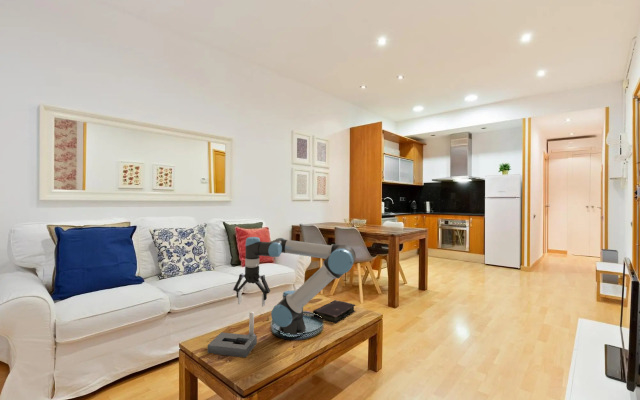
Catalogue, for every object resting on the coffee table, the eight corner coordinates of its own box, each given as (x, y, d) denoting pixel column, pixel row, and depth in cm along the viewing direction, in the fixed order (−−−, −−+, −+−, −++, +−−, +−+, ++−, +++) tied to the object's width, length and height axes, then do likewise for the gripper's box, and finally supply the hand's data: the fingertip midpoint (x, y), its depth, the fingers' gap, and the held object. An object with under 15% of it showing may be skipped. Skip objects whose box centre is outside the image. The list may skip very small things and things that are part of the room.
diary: (312, 317, 198) (312, 309, 198) (333, 306, 218) (334, 299, 218) (336, 324, 187) (336, 316, 186) (356, 312, 207) (356, 305, 207)
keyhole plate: (256, 343, 161) (256, 335, 161) (246, 357, 147) (246, 349, 147) (221, 339, 164) (221, 332, 164) (207, 353, 150) (207, 345, 150)
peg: (256, 336, 168) (257, 311, 168) (253, 340, 164) (254, 314, 163) (249, 335, 169) (249, 310, 169) (245, 339, 165) (246, 314, 164)
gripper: (276, 265, 167) (275, 304, 168) (233, 262, 171) (232, 300, 172) (272, 269, 160) (271, 309, 160) (227, 265, 164) (226, 305, 164)
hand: (251, 304), depth 166 cm, fingers open, 13 cm apart
